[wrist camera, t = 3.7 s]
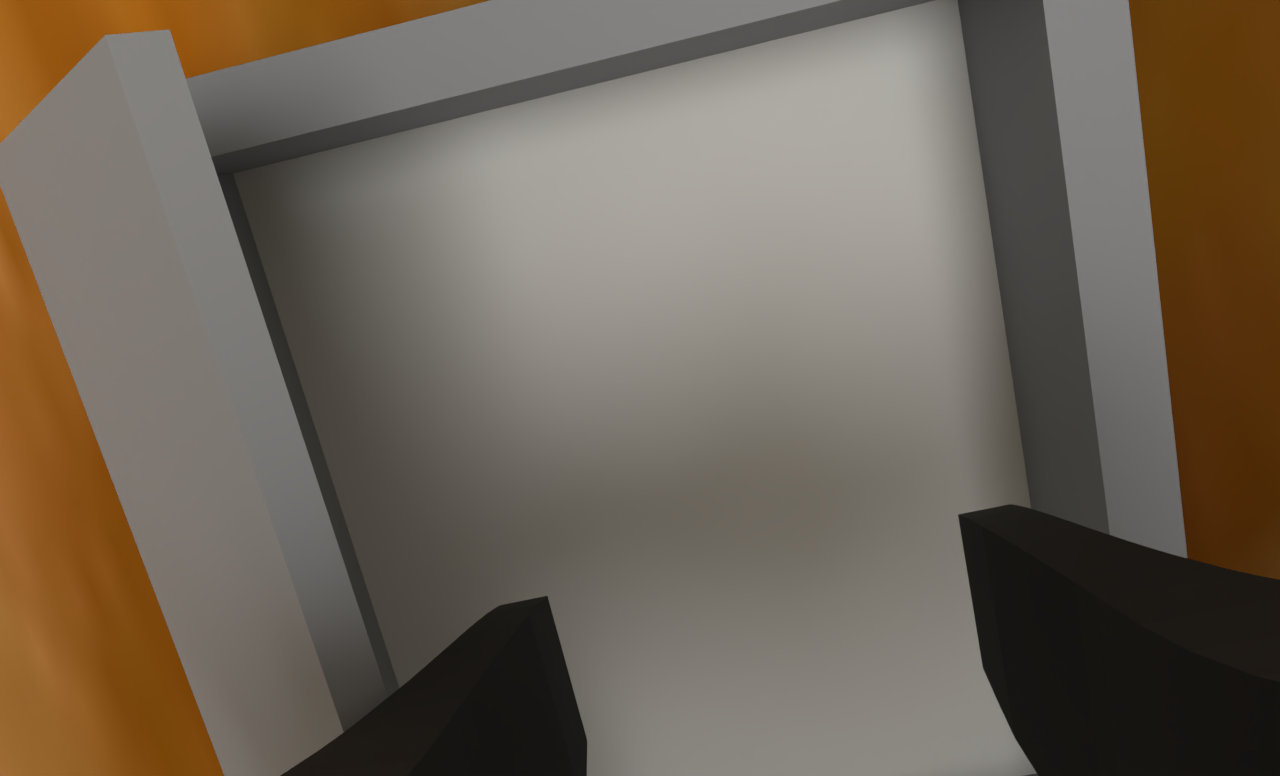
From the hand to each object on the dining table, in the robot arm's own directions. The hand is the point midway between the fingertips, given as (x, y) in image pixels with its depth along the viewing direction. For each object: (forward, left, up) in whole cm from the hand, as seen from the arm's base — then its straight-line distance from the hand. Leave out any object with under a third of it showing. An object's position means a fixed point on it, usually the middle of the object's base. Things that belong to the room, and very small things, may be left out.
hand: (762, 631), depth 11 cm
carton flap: (+6, 0, 0) cm, 6 cm away
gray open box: (+1, 0, -6) cm, 6 cm away
